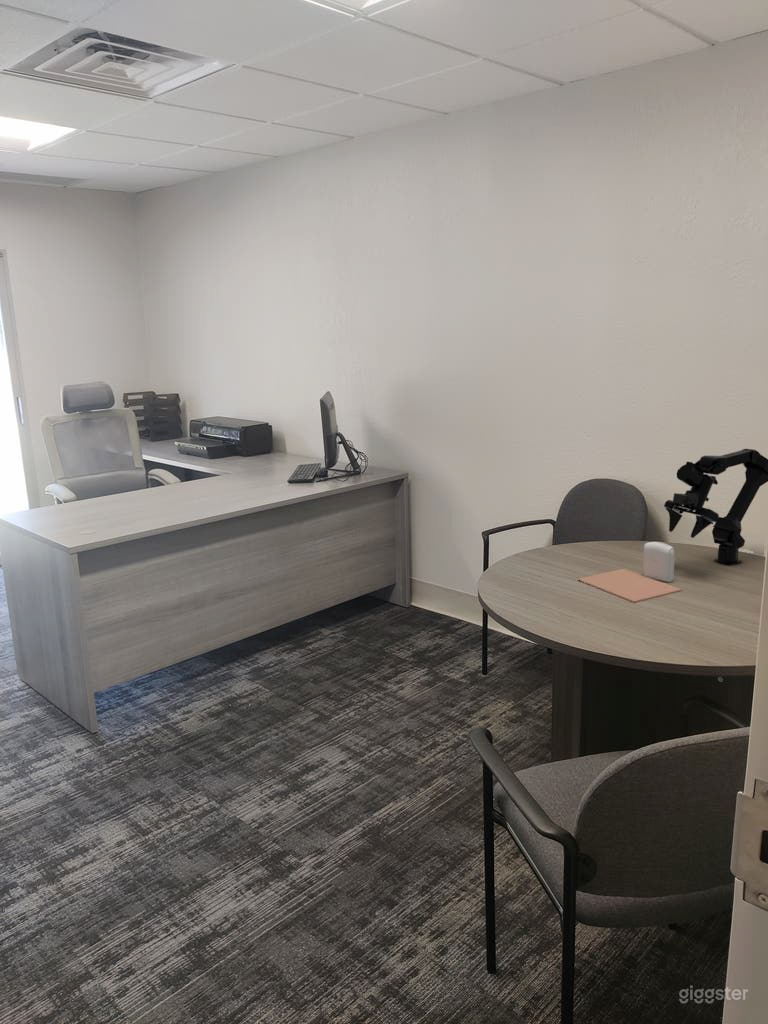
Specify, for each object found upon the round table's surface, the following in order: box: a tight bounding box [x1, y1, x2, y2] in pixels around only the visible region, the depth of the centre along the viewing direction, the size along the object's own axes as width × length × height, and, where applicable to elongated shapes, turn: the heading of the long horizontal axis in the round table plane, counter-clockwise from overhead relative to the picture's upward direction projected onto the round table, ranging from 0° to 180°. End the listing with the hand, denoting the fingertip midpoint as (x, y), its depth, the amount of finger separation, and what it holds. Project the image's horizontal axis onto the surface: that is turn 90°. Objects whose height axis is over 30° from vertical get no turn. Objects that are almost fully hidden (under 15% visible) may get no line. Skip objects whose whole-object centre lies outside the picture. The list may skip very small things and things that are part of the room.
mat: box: [577, 568, 683, 603], centre depth 251 cm, size 20×26×1 cm
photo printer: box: [642, 541, 675, 583], centre depth 255 cm, size 10×4×12 cm, turn 39°
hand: (680, 534), depth 257 cm, fingers open, 9 cm apart
